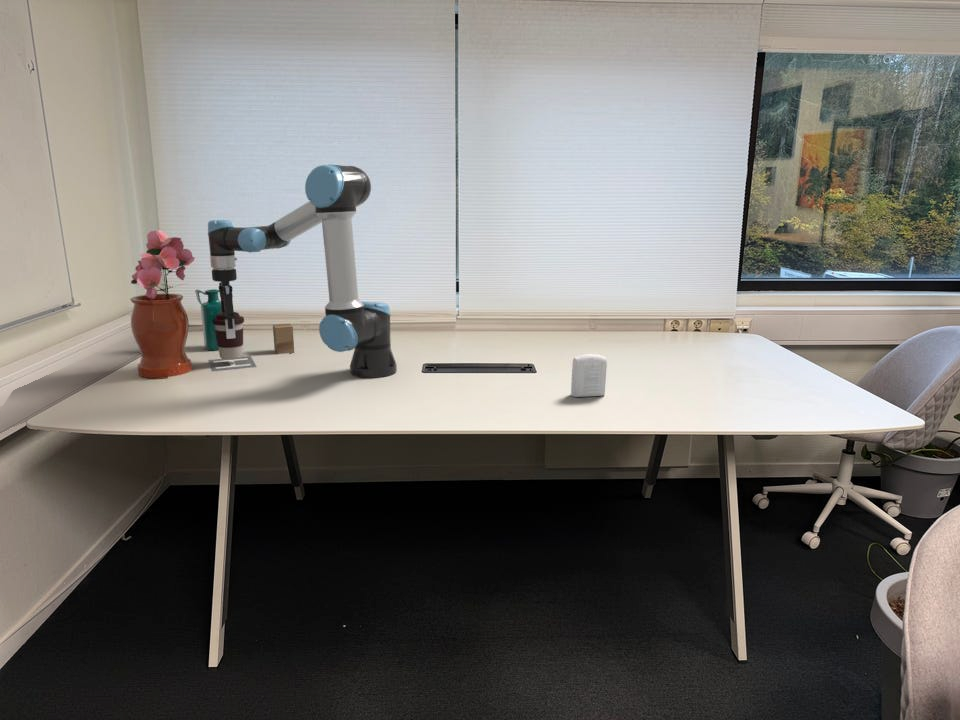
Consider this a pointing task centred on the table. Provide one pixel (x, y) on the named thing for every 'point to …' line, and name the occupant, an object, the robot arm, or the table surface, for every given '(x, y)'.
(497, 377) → the table surface
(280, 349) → the walnut block
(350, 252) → the robot arm
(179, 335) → the potted flower
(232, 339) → the coffee cup
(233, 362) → the letter mat
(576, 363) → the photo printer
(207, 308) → the pitcher
